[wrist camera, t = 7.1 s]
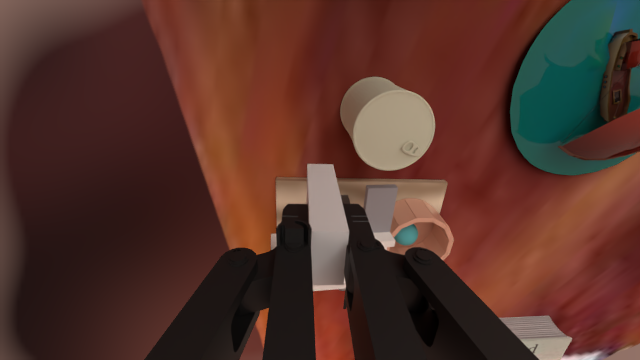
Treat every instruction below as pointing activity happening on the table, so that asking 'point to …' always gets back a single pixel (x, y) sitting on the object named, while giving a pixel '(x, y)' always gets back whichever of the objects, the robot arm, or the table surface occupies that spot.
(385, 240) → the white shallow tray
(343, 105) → the can
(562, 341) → the book
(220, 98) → the table surface
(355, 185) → the stand
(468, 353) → the robot arm
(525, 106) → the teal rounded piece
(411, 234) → the ball
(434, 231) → the cup
